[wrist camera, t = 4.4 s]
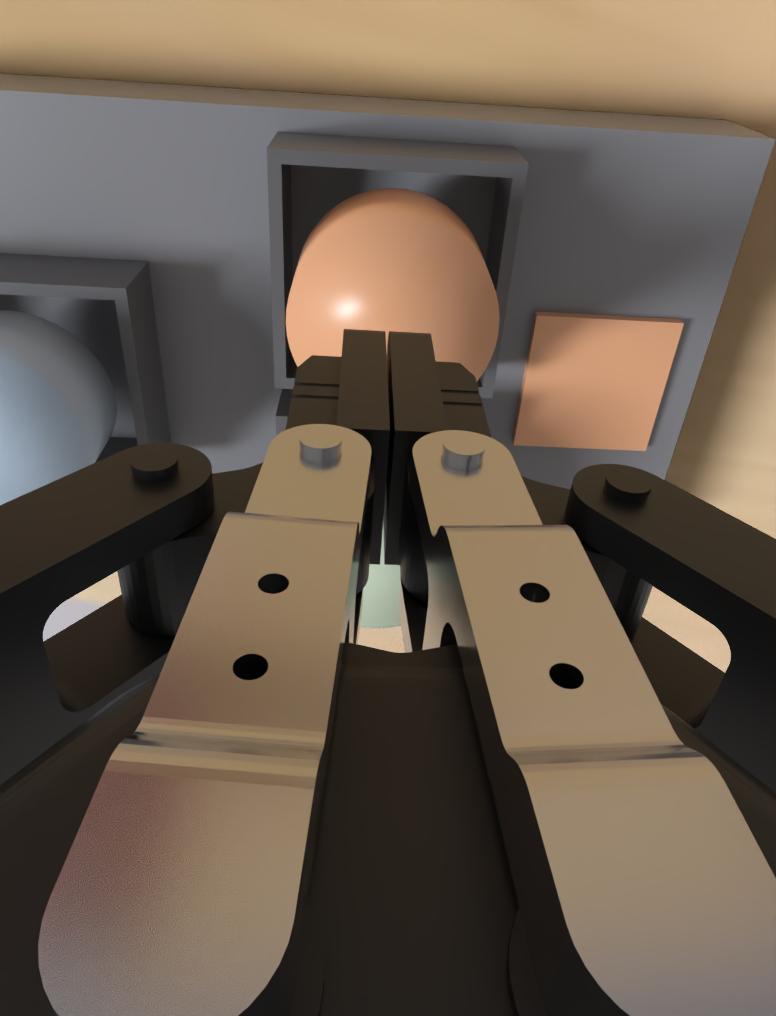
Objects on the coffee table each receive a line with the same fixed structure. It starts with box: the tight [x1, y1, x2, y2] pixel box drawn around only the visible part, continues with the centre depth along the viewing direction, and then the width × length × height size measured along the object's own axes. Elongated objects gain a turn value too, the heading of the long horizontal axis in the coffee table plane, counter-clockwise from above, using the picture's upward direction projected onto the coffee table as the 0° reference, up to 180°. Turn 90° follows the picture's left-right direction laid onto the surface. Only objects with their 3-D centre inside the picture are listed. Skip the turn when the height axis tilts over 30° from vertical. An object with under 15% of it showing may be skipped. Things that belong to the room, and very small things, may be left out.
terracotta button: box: [286, 188, 500, 382], centre depth 16 cm, size 4×4×2 cm
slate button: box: [0, 310, 117, 505], centre depth 18 cm, size 4×4×2 cm
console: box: [0, 73, 776, 489], centre depth 21 cm, size 22×13×5 cm, turn 87°
